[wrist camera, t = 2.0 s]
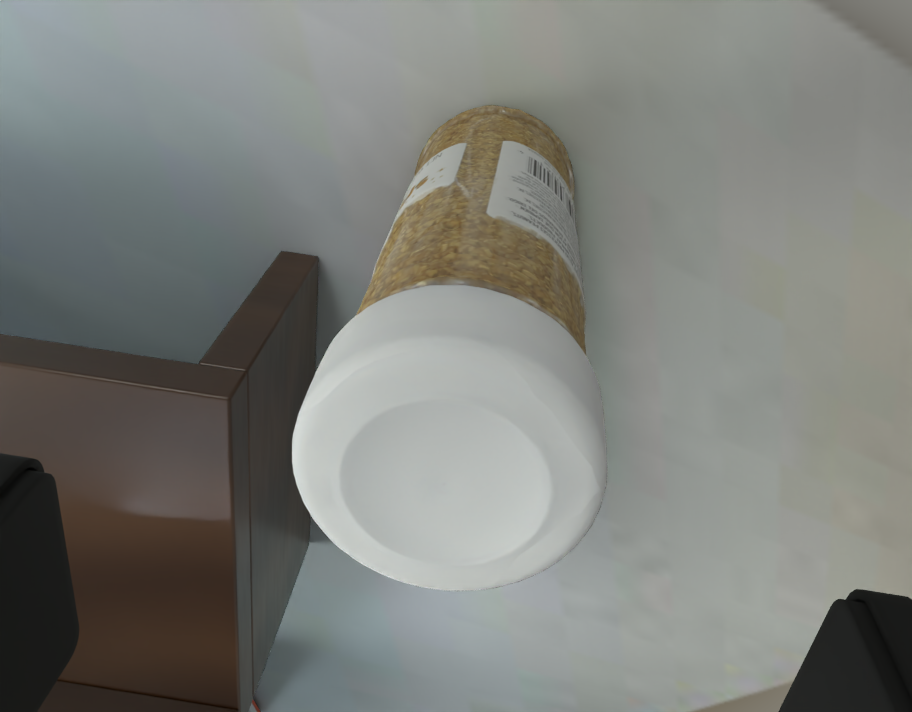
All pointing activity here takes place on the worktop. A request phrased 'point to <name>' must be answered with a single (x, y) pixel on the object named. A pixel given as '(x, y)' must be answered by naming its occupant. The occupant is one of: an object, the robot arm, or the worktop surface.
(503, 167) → the sprinkles bottle
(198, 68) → the worktop surface
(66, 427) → the spice shelf
